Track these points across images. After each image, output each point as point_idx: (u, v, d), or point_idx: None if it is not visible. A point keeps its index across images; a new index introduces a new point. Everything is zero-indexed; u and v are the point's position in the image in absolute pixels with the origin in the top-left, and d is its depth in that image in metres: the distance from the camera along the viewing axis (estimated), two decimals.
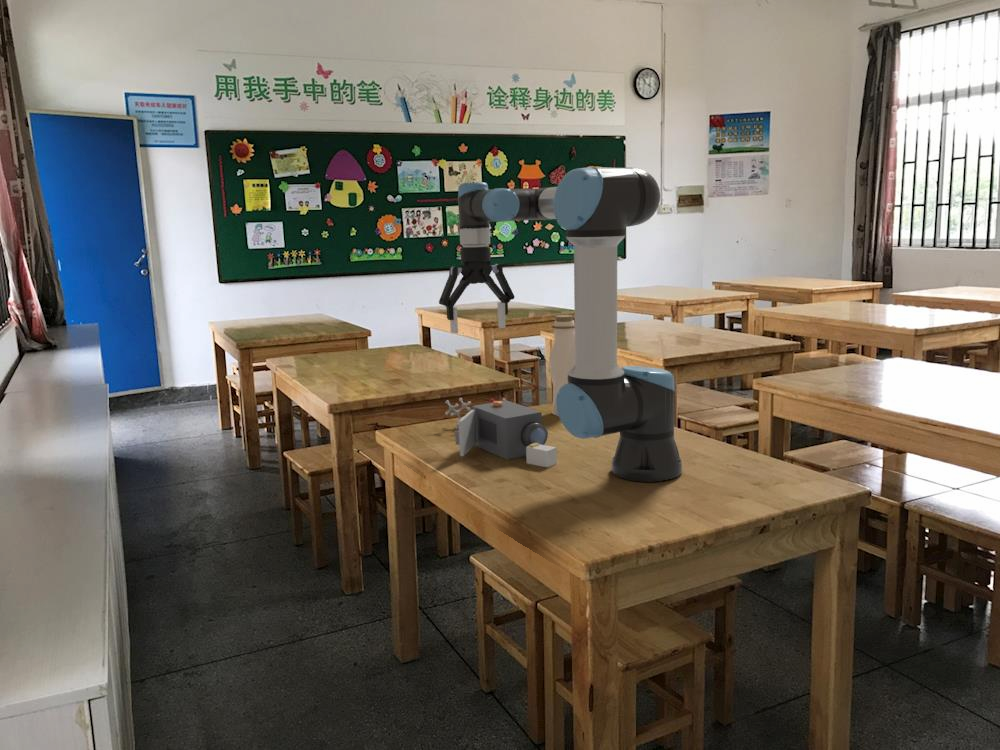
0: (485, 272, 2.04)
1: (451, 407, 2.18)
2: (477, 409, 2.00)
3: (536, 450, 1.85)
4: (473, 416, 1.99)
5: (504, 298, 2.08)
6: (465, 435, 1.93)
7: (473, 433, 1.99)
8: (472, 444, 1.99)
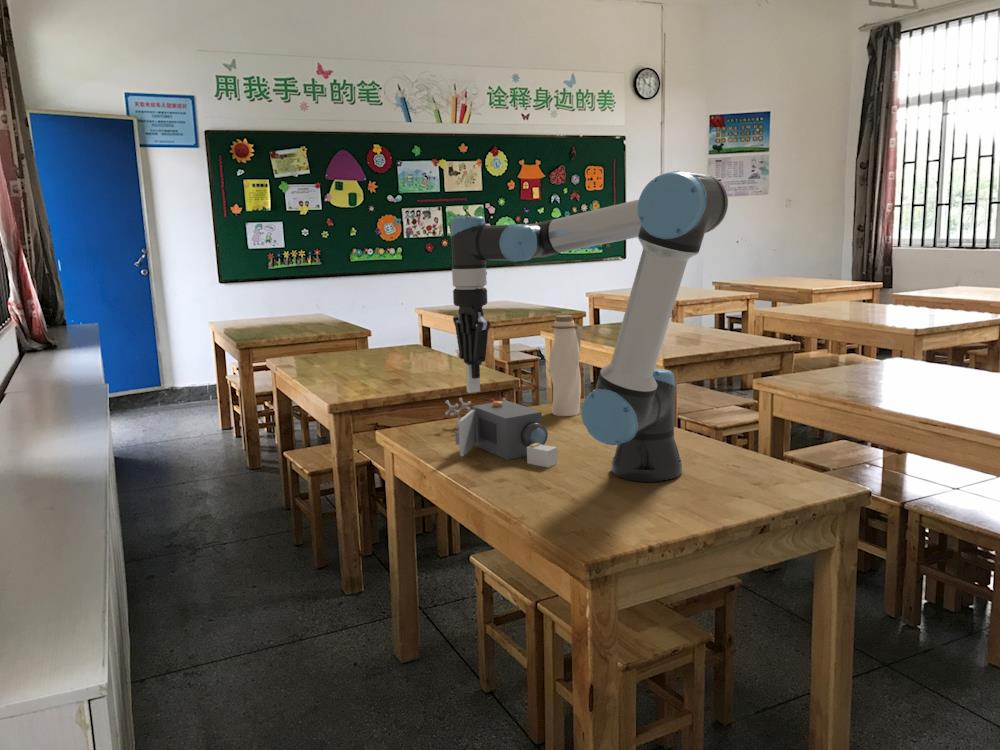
0: (466, 319, 1.79)
1: (451, 407, 2.18)
2: (477, 409, 2.00)
3: (536, 450, 1.85)
4: (473, 416, 1.99)
5: (470, 358, 1.81)
6: (465, 435, 1.93)
7: (473, 433, 1.99)
8: (472, 444, 1.99)
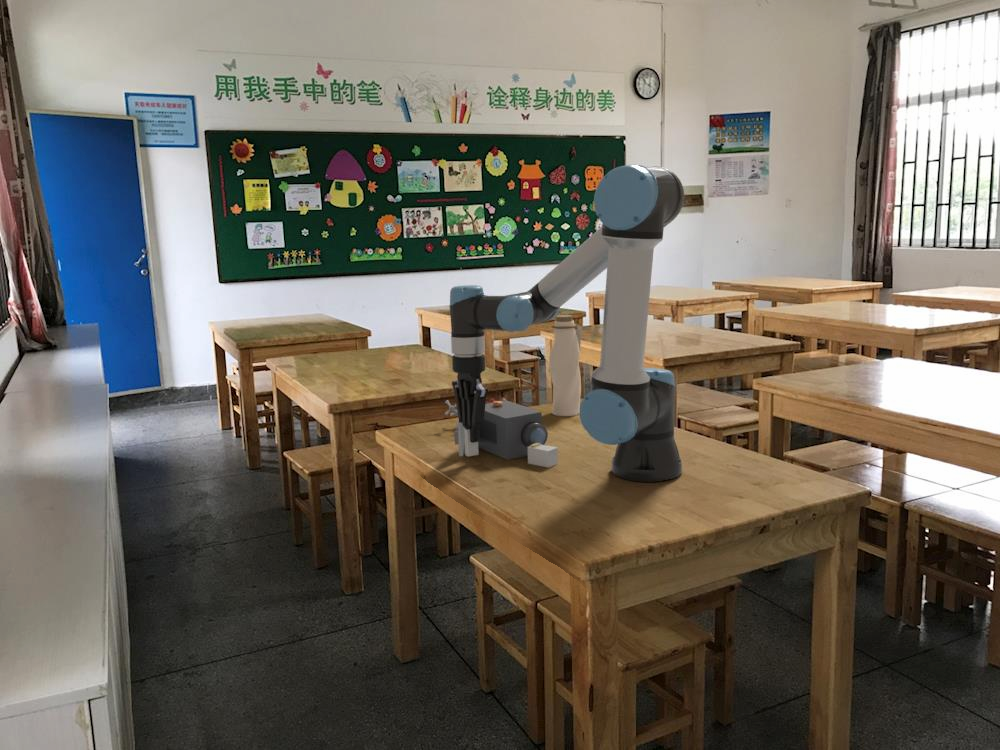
0: (465, 385, 1.83)
1: (451, 407, 2.18)
2: None
3: (537, 450, 1.85)
4: None
5: (468, 423, 1.86)
6: None
7: None
8: None
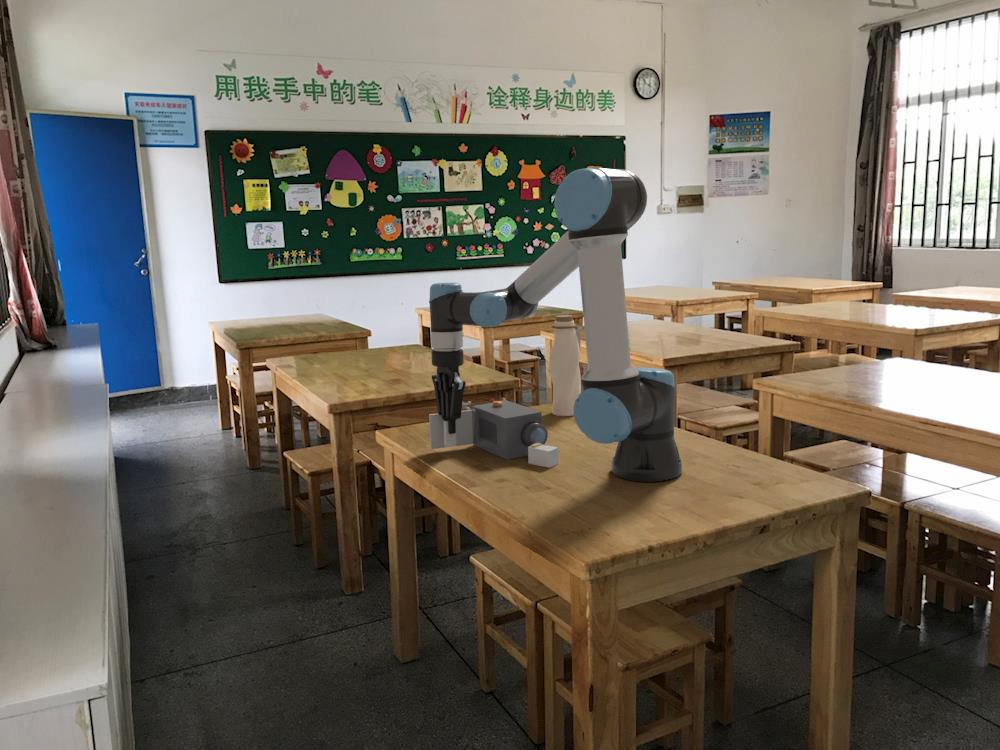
0: (443, 378, 1.91)
1: None
2: (477, 409, 2.00)
3: (538, 450, 1.85)
4: (469, 416, 2.00)
5: (446, 415, 1.93)
6: (441, 430, 1.98)
7: (466, 432, 2.00)
8: (463, 443, 2.00)
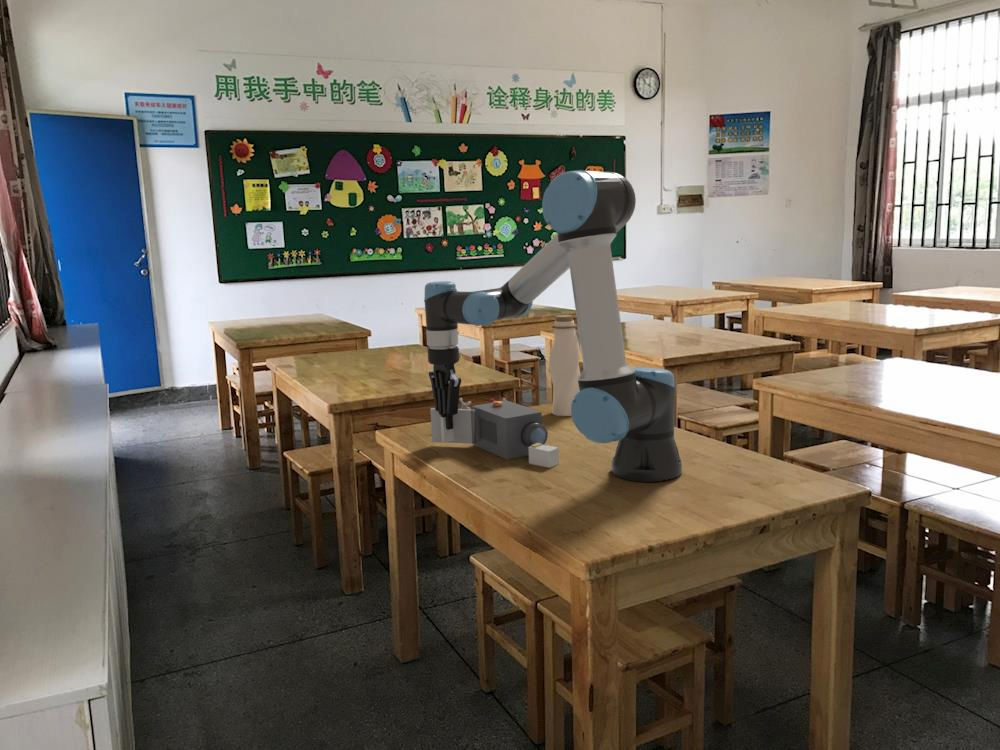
0: (439, 376, 1.95)
1: None
2: (477, 409, 2.00)
3: (538, 450, 1.85)
4: (468, 415, 2.00)
5: (443, 411, 1.97)
6: None
7: (465, 431, 2.01)
8: (462, 441, 2.02)
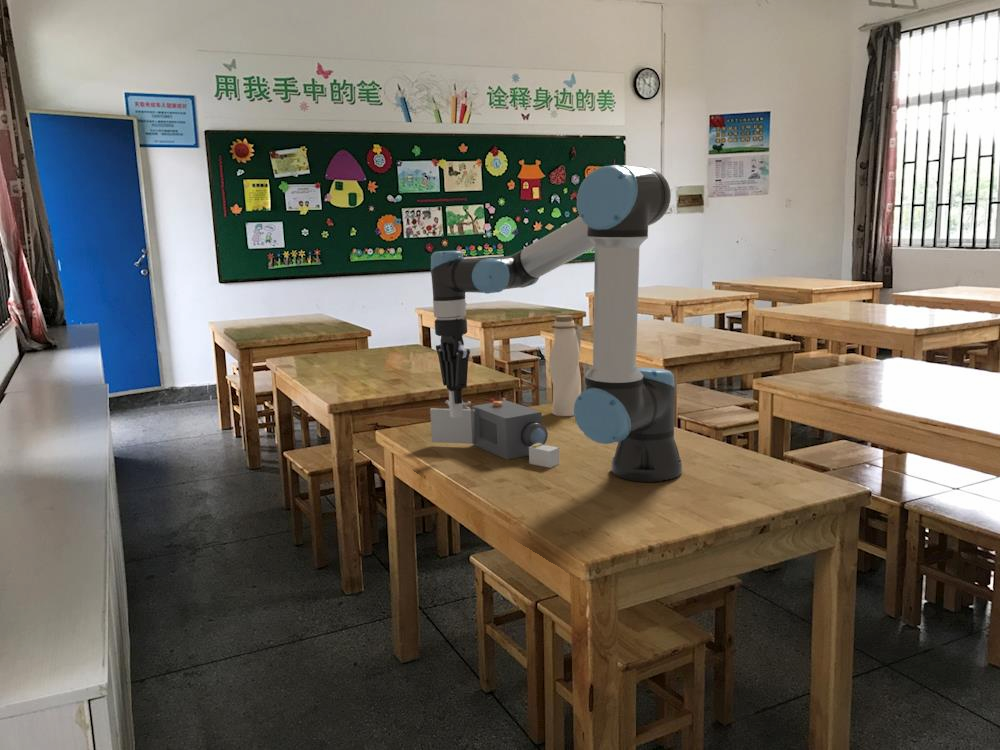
0: (447, 348, 1.89)
1: None
2: (477, 409, 2.00)
3: (538, 450, 1.85)
4: (468, 415, 2.00)
5: (452, 385, 1.91)
6: (441, 425, 2.03)
7: (465, 431, 2.01)
8: (462, 441, 2.02)
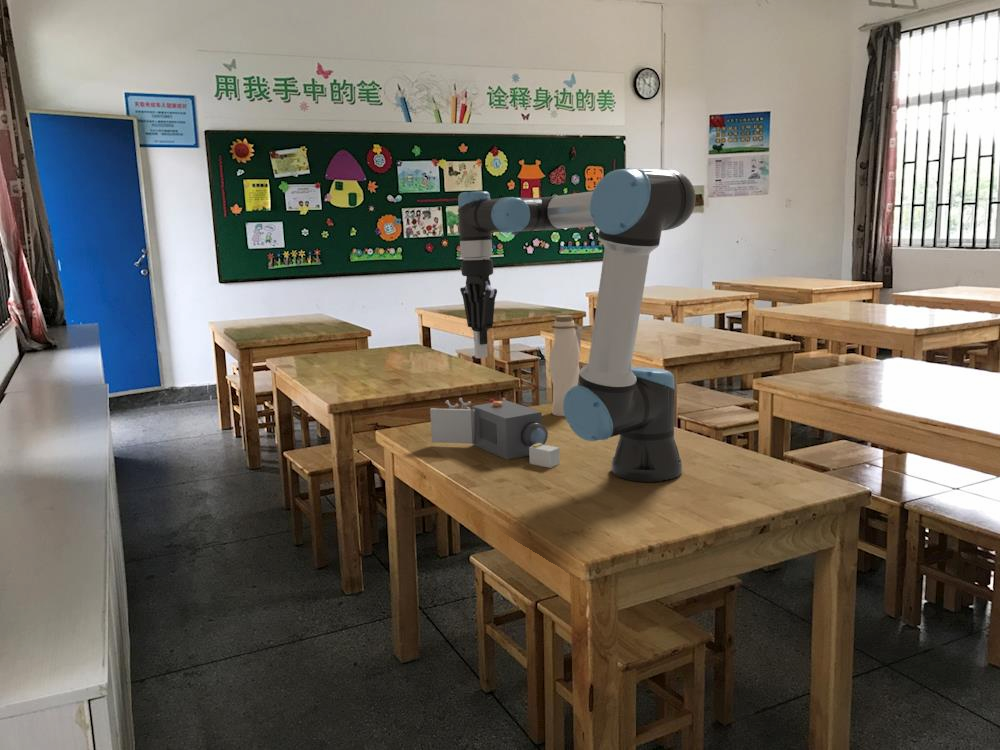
0: (474, 288, 1.91)
1: (451, 407, 2.18)
2: (477, 409, 2.00)
3: (539, 450, 1.85)
4: (468, 415, 2.00)
5: (478, 325, 1.93)
6: (441, 425, 2.03)
7: (465, 431, 2.01)
8: (462, 441, 2.02)
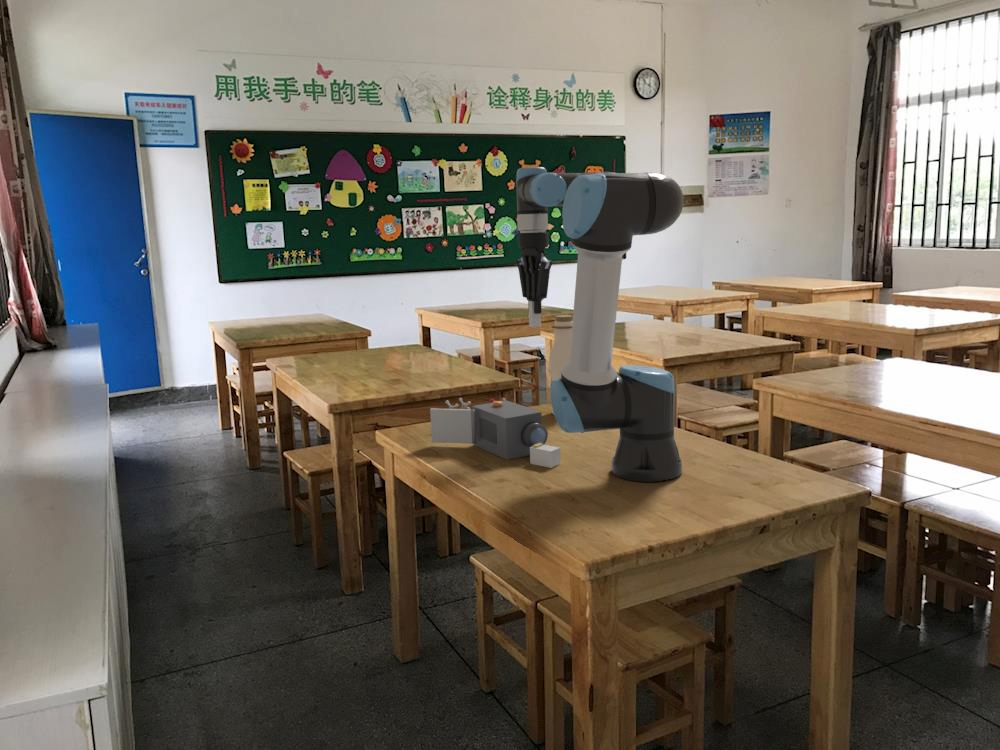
0: (530, 259, 2.01)
1: (451, 407, 2.18)
2: (477, 409, 2.00)
3: (539, 450, 1.85)
4: (468, 415, 2.00)
5: (533, 295, 2.03)
6: (441, 425, 2.03)
7: (465, 431, 2.01)
8: (462, 441, 2.02)
